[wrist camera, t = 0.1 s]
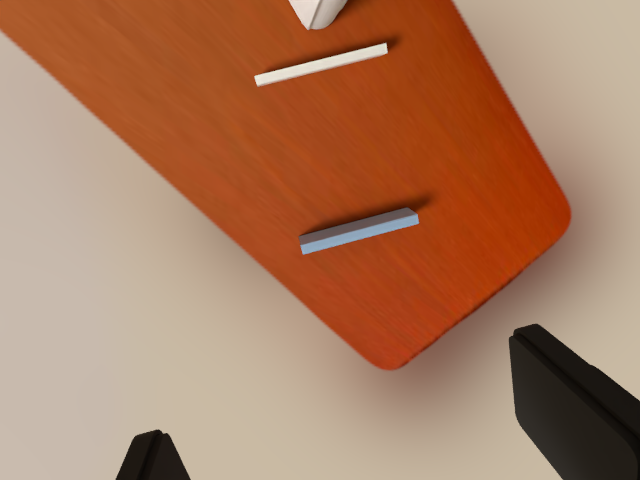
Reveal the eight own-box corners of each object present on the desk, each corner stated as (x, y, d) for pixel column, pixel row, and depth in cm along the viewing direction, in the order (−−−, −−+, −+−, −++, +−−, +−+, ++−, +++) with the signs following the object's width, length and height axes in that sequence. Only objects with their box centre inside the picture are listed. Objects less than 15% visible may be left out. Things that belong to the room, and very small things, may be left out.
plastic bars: (255, 77, 36) (254, 74, 33) (380, 46, 36) (389, 40, 34) (300, 244, 42) (303, 254, 39) (408, 216, 42) (418, 223, 39)
